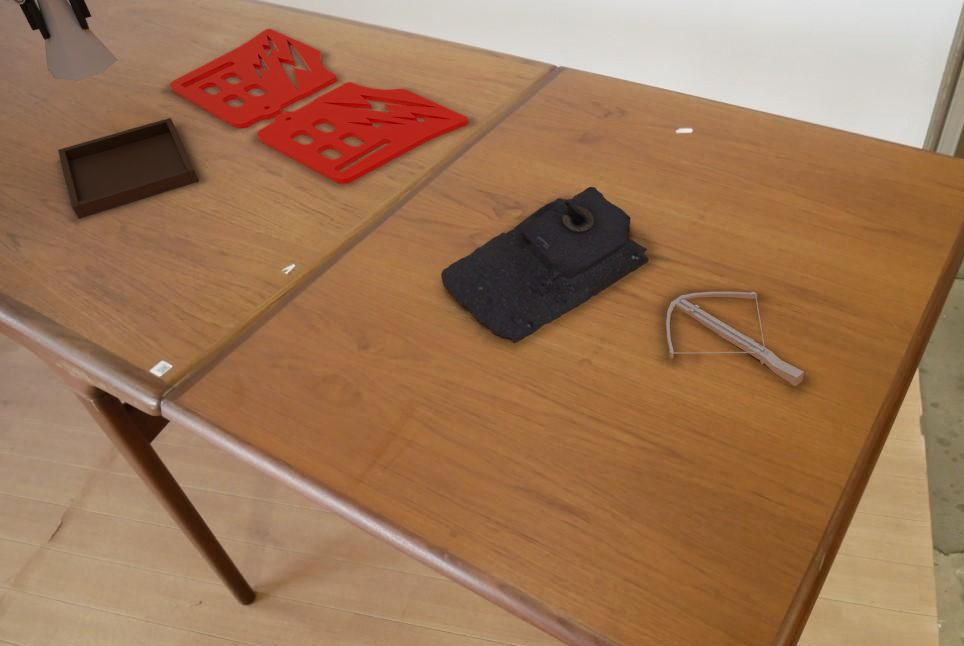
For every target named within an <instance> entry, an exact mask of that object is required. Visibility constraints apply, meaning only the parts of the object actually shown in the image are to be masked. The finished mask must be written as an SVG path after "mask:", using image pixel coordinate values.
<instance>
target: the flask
mask: <svg viewBox="0 0 964 646" xmlns="http://www.w3.org/2000/svg"><path fill="white" fill-rule="evenodd" d="M36 4H37V6H38V8H39V10H40V13H41V16H42V18H43V21H44V23H45V25H46V28H47V30H48V32H49V34H50V36H51V37H49V39H45V40H44V46H45V47H44V48H45V59H46V66H47V68H46V69H47V71H48V72H49V73H50V75H51V76H52V77H53V78H54V79H55V80H61V81H73V82H81V81H83V80H86V79H88V78H91V77H94V76H97V75H100V74H103V73H104V72H106V71H107V70H108V69H109V68H111V66H113V65H114V64H115V63H116V62H118V58H117V57H116V55H114V54H113V53H112V52H111V50H110V49H109V48H108V47H107V46H106V45H105V44H104V43H103V42H102V41H101V40H100V38H99V37H98V36H97V35H96V34H95V33H94V32H93V31H92V30H91V29H90V28H89V29H86V30H84V29H82V28H81V26H80V24H79V21H78V19H77V17H76V15H75V13H74V11H73V9H72V7H71V5H70V2H69V0H36Z"/></svg>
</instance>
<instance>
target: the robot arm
mask: <svg viewBox="0 0 964 646" xmlns="http://www.w3.org/2000/svg"><path fill="white" fill-rule="evenodd" d="M12 1H13V2H14V3H15V4H17V5H19V7H20V9H21V11H22V14H23V15H24V17H25V19H26V21H27V23H28V24H29V27H30V28H31V31H33V32H34V31H38V30H39V33H40V34H41V36H42V38H43V40H44V41H45V39H49V37H51V36H50V34H49V32H48V30H47V28H46V25H45V23H44V21H43V18H42V16H41V13H40V9H39V6H38V3H37V1H36V0H12ZM68 3H69V4H70V6H71V7H72V9H73V11H74V13H75V15H76V17H77V19H78V21H79V24H80V26H81V28H82V29H84V30H86V29H90V26H89V23H88V20H87V19H89V18H91V17H92V14H91V11H90V9H89V7H88V6H87V3H86V1H85V0H68Z"/></svg>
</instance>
